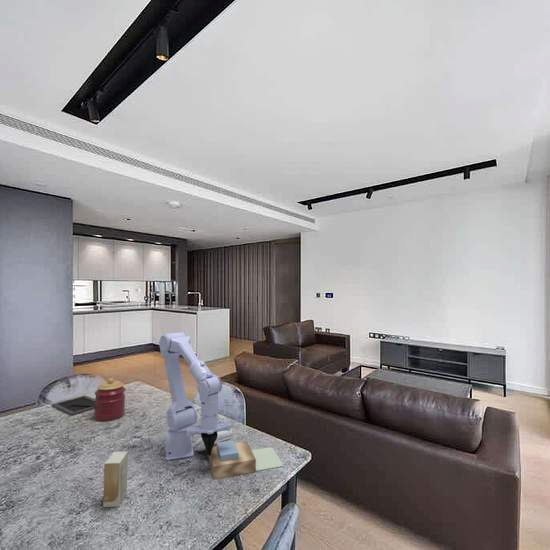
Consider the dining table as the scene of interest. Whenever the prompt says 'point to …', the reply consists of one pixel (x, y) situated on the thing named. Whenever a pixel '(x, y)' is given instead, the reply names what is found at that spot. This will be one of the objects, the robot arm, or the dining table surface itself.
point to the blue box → (227, 451)
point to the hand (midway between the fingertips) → (208, 454)
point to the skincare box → (115, 479)
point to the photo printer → (221, 437)
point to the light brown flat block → (233, 462)
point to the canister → (109, 400)
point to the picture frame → (75, 405)
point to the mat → (266, 459)
